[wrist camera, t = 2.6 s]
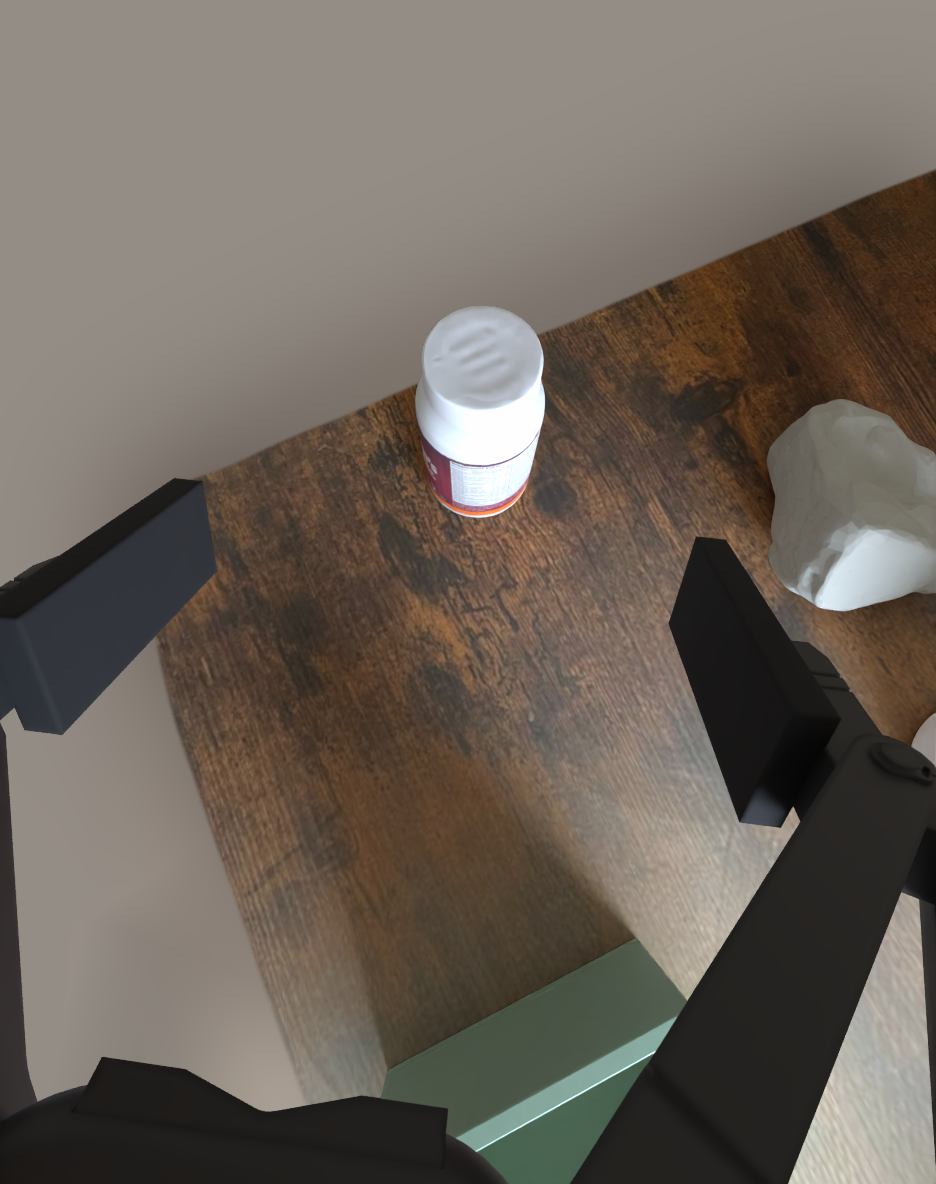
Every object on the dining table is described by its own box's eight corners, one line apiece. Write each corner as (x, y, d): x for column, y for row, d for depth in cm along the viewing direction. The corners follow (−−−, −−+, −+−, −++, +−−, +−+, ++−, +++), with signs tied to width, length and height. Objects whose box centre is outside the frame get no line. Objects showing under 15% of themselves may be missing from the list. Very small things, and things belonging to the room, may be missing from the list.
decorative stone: (983, 601, 32) (1007, 587, 24) (793, 621, 37) (760, 616, 29) (943, 411, 33) (953, 338, 25) (766, 457, 39) (729, 409, 31)
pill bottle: (421, 432, 36) (399, 300, 25) (520, 421, 36) (542, 284, 25) (432, 527, 35) (415, 431, 24) (536, 514, 35) (566, 413, 24)
